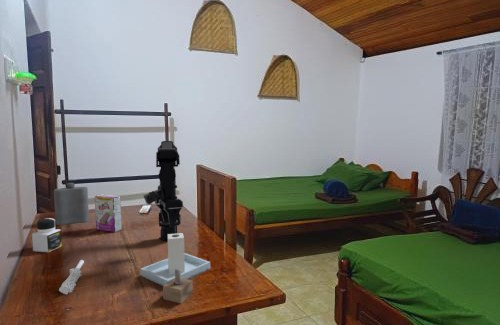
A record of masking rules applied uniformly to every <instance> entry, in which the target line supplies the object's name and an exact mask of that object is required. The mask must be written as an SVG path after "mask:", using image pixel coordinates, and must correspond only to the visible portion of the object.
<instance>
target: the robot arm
mask: <svg viewBox="0 0 500 325" xmlns="http://www.w3.org/2000/svg"><path fill="white" fill-rule="evenodd" d="M155 155H156V156H155V158H156V159H155V160H156V161H155V165H156V166H155V167H156V168H160V169H159V171H158V179H159V185H158V186H157V189H156V190H152V191H149V192H148V193H146V194H143V198H144V200H145V203H146V204H147V205H151V204H153V203H154V204H155V206H157V208H159V209H160V211H159V212H158V226H159V227H160V236H159V237H158V239H160V240H162V241H164V242H167V243H168V234H177V233H178V226H180V225H181V223H182V222H181V221H182V220H181V214H180V213H181V210H182V208H183V207H184V201H182V200H181V198H178V196H177V190H176V189H178V185H177V184H176V177H177V173H176V169H175V167H179V166H180V164H181V163H180V161H181V160H180V154H179V152H178V147H177V146H176V145H174V141H173V140H163V141H161V144H160V145H159V146H158V147H157V151H156V154H155Z"/></svg>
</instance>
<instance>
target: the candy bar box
mask: <svg viewBox="0 0 500 325" xmlns="http://www.w3.org/2000/svg"><path fill="white" fill-rule="evenodd" d="M121 201H122V200H121V195H116V194H115V195H114V194H113V195H112V194H106V193H104V194H97V195H95V196H94V204H95V205H94V207H95V208H94V209H95V210H94V211H95V223H96V224H95V228H96V230H97V231H103V232H104V231H105V232H109V233H110V232H111V233H117V232H119V231H121V230H123V229H122V227H123V226H122V222H123V221H122V205H121V204H122V203H121Z"/></svg>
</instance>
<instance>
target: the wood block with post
mask: <svg viewBox="0 0 500 325" xmlns="http://www.w3.org/2000/svg"><path fill="white" fill-rule="evenodd" d="M193 294H194V281H193V280H192V279H188V280H187V279H183V278H181V269H175V278H174V279H172V280H171V281H169V282H168V283H166V284H165V285H163V286H162V296H163V300H165V301H169V302H173V303H177V304H182V303H183V302H185V301H186V300H187V299H189V298H190V297H191V296H192V295H193Z"/></svg>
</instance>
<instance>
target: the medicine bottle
mask: <svg viewBox="0 0 500 325" xmlns="http://www.w3.org/2000/svg"><path fill="white" fill-rule="evenodd" d="M36 226H37V227H36V228H37V229H36V230H37V231H35V232H33V233H31V236H32V237H31V238H32V239H31V241H32V252H39V253H50V252H52V251H55V250H56V249H59V248H61V247H62V230H61V229H59V228H57V229H56V221H55V218H52V217H51V218H50V217H46V218H41V219H39V220H37V221H36Z"/></svg>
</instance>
